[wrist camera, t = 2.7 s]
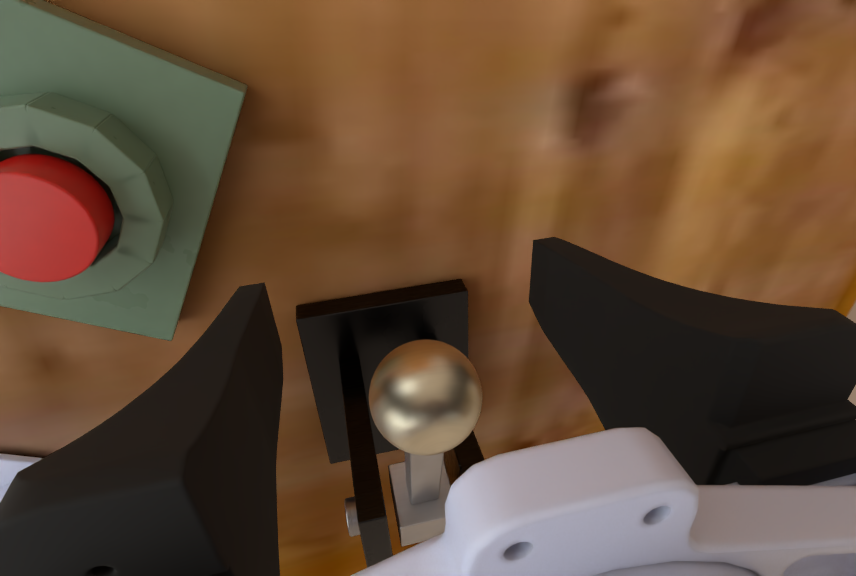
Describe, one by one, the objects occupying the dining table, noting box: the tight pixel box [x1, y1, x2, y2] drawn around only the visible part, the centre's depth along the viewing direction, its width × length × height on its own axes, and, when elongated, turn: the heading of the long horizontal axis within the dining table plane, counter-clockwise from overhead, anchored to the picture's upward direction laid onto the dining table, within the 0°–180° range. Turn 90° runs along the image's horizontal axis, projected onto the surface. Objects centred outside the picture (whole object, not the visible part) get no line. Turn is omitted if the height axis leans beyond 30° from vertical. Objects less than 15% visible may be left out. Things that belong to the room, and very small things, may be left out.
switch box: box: [0, 0, 247, 341], centre depth 17 cm, size 11×9×3 cm
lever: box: [369, 339, 482, 546], centre depth 17 cm, size 12×3×3 cm, turn 4°
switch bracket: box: [296, 279, 484, 568], centre depth 23 cm, size 10×8×10 cm
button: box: [0, 154, 114, 282], centre depth 16 cm, size 4×4×2 cm
